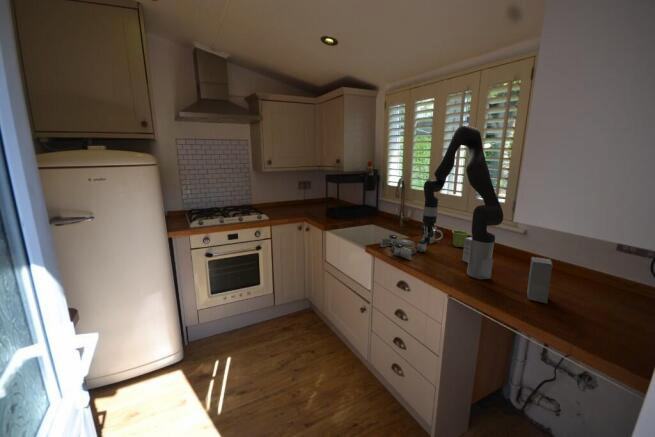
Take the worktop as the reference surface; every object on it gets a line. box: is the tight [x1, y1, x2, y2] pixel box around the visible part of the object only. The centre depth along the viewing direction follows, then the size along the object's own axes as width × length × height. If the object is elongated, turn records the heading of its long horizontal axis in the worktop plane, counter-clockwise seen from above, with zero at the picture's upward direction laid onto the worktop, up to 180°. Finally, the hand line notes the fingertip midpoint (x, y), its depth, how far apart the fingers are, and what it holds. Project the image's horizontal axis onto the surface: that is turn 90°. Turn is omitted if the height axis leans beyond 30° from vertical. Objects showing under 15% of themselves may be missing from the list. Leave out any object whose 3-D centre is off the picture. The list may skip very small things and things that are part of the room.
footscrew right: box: [417, 237, 428, 253], centre depth 172 cm, size 11×5×6 cm, turn 159°
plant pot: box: [451, 230, 470, 248], centre depth 182 cm, size 9×9×9 cm
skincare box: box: [526, 256, 554, 304], centre depth 116 cm, size 8×7×16 cm
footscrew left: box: [393, 243, 413, 260], centre depth 158 cm, size 11×5×6 cm, turn 33°
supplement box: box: [461, 236, 472, 264], centre depth 154 cm, size 7×7×13 cm
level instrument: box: [391, 238, 418, 255], centre depth 169 cm, size 14×14×6 cm
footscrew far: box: [380, 234, 398, 248], centre depth 176 cm, size 11×5×6 cm, turn 118°
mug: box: [422, 225, 444, 244], centre depth 187 cm, size 8×13×10 cm, turn 82°
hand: (426, 243), depth 173 cm, fingers closed
